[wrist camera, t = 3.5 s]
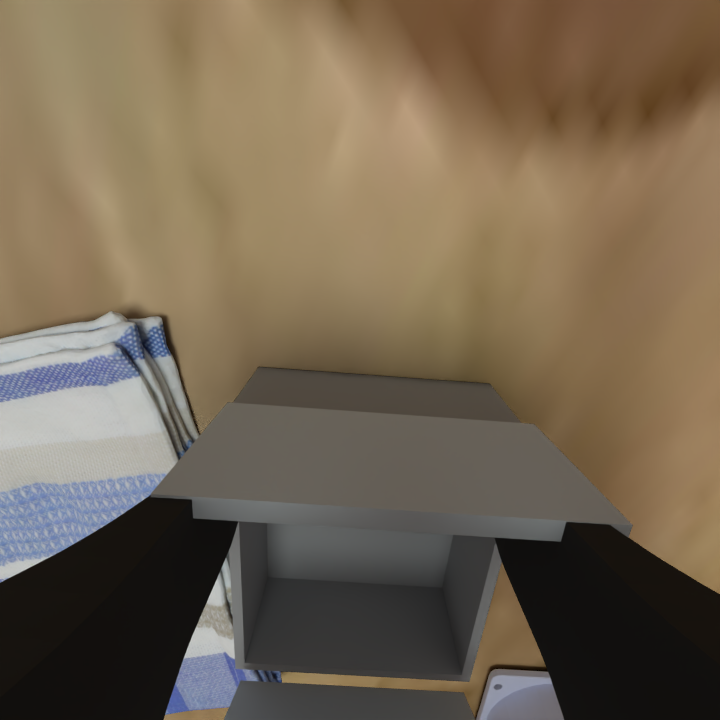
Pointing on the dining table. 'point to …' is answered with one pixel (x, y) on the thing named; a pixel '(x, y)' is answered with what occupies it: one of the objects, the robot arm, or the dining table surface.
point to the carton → (363, 558)
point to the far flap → (343, 703)
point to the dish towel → (102, 463)
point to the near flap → (384, 474)
